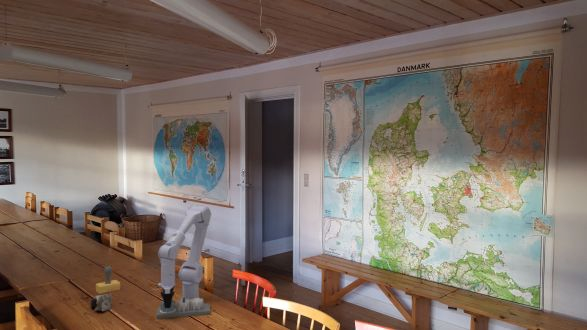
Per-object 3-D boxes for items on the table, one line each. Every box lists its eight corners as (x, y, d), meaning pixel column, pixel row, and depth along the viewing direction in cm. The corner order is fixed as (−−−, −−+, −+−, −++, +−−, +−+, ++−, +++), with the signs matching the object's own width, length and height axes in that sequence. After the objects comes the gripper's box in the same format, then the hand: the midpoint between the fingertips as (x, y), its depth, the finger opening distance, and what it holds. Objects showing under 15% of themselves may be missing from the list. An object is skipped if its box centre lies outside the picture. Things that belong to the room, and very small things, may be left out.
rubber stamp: (99, 294, 204) (99, 269, 203) (95, 291, 208) (95, 266, 208) (120, 289, 211) (120, 265, 210) (116, 286, 215) (116, 263, 214)
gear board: (157, 310, 185) (157, 295, 185) (209, 306, 191) (209, 291, 191) (156, 318, 177) (156, 302, 176) (210, 314, 182) (210, 298, 182)
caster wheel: (98, 308, 192) (118, 307, 191) (81, 313, 182) (103, 311, 180) (98, 293, 194) (118, 291, 192) (82, 296, 183) (103, 295, 181)
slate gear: (161, 307, 184) (161, 299, 184) (175, 306, 186) (175, 298, 185) (160, 313, 179) (160, 304, 178) (174, 311, 180) (174, 303, 180)
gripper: (159, 268, 187) (159, 299, 188) (157, 279, 173) (157, 311, 174) (175, 268, 189) (175, 298, 190) (175, 278, 175) (175, 310, 176)
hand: (167, 304), depth 182 cm, fingers open, 7 cm apart
